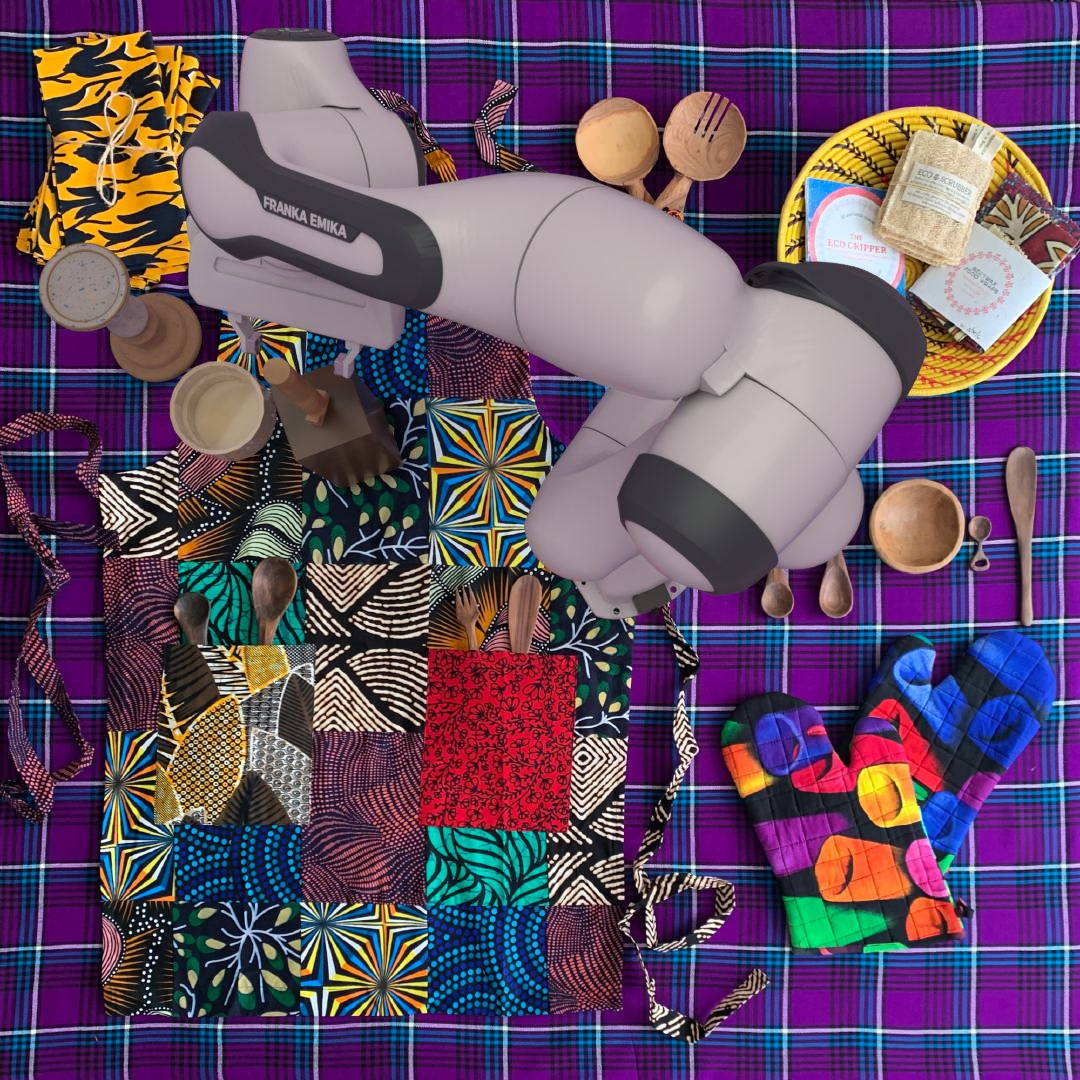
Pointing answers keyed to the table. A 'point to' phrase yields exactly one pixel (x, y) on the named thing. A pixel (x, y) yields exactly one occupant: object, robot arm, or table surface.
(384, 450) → the stand
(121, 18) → the table surface
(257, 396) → the bowl
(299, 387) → the stick
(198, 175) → the robot arm
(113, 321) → the candle holder
